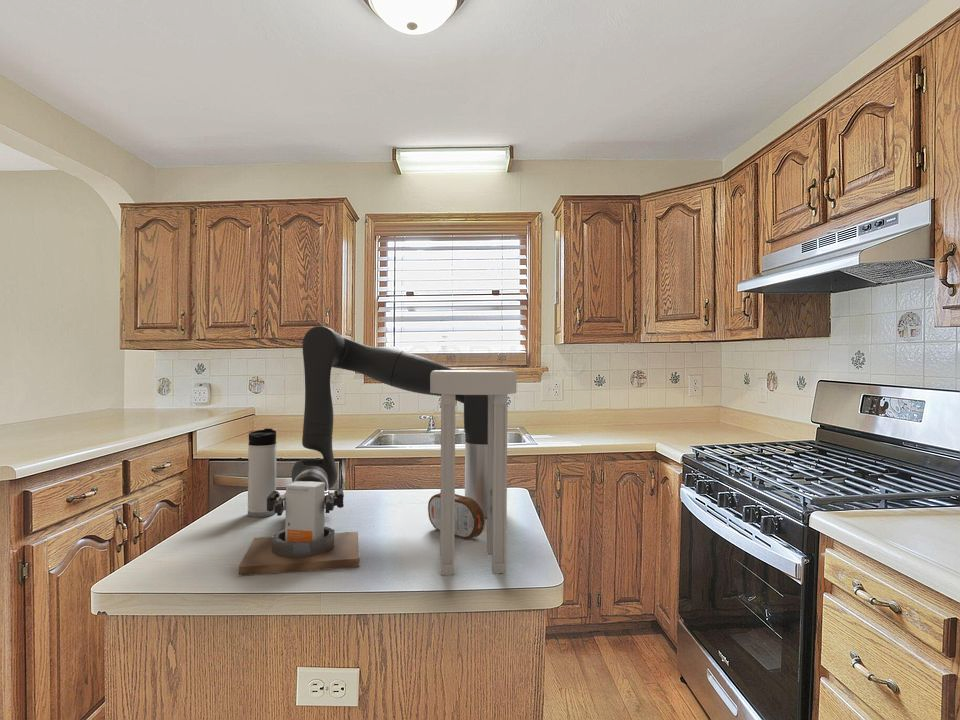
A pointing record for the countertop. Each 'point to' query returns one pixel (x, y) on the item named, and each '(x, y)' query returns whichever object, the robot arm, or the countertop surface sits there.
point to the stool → (497, 391)
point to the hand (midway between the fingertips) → (303, 509)
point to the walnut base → (267, 562)
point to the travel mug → (261, 471)
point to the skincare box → (304, 511)
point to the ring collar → (302, 545)
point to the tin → (459, 516)
